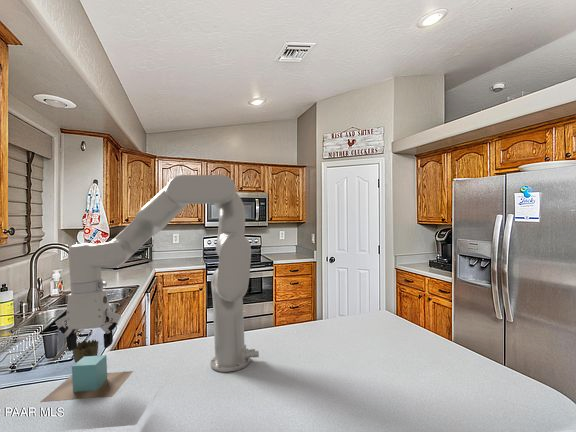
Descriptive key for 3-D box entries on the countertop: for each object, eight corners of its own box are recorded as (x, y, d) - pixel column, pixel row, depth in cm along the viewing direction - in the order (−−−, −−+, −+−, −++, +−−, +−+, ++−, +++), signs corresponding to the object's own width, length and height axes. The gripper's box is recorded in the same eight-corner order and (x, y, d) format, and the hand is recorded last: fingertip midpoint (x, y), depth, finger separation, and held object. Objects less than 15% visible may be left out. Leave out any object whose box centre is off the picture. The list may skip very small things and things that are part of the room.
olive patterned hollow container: (86, 374, 102) (85, 348, 102) (66, 372, 104) (65, 347, 104) (104, 363, 110) (103, 339, 110) (85, 362, 111) (84, 338, 111)
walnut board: (133, 375, 100) (133, 371, 100) (112, 401, 86) (111, 396, 86) (71, 380, 99) (71, 375, 99) (40, 407, 85) (40, 401, 85)
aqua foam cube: (107, 378, 96) (106, 355, 96) (96, 390, 90) (95, 364, 90) (85, 380, 95) (84, 356, 95) (72, 392, 89) (71, 366, 89)
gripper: (124, 282, 97) (127, 339, 97) (62, 286, 95) (66, 344, 96) (112, 288, 89) (116, 350, 89) (45, 292, 88) (49, 356, 88)
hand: (90, 347), depth 93 cm, fingers open, 9 cm apart
